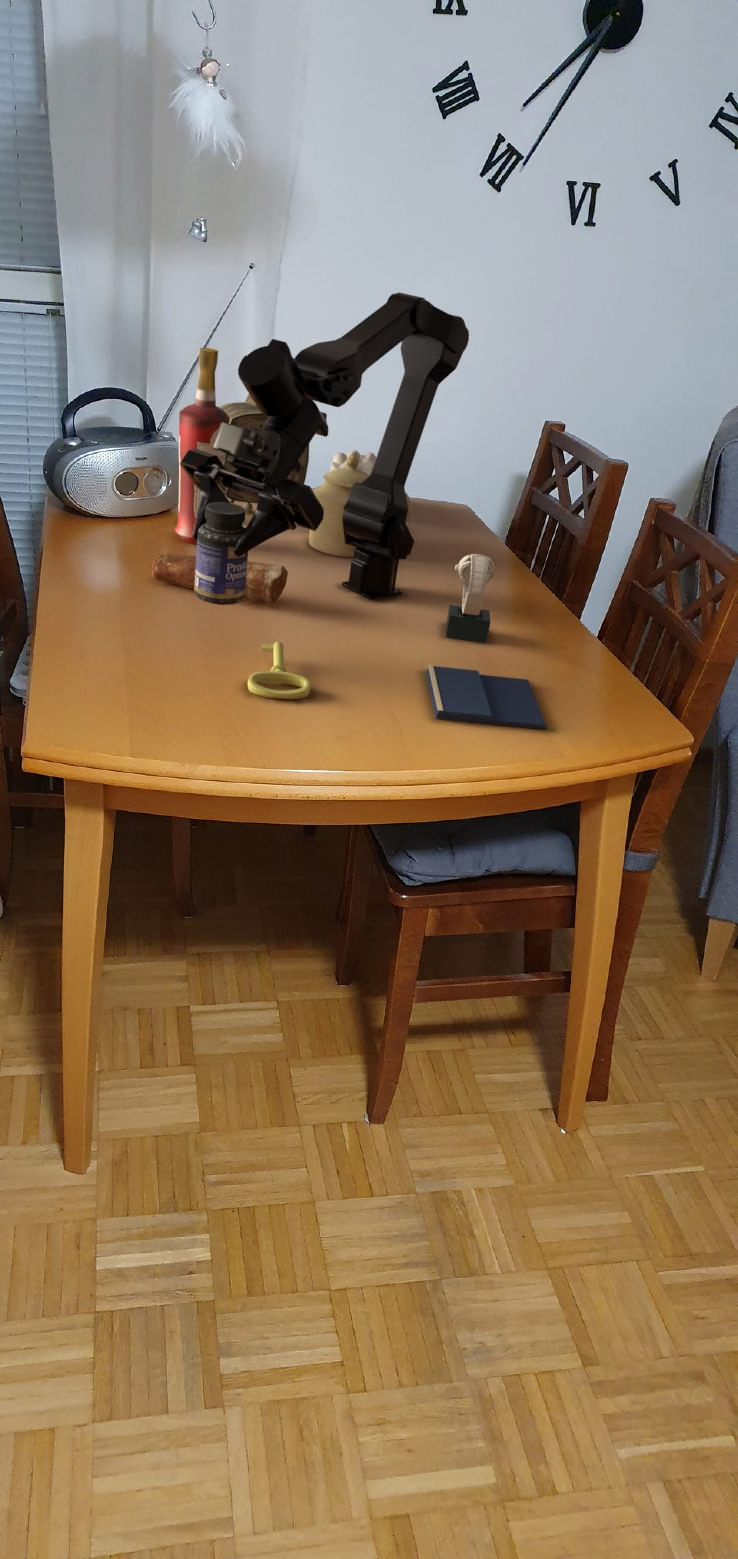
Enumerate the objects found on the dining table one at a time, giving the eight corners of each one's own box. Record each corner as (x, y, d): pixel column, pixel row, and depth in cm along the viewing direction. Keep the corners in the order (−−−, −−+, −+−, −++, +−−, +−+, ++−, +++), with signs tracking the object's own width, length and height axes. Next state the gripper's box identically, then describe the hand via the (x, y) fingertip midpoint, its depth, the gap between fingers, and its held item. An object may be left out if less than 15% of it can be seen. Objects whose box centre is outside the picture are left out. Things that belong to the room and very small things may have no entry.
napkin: (426, 673, 149) (427, 664, 149) (527, 683, 151) (529, 675, 150) (435, 718, 138) (437, 709, 137) (545, 729, 139) (547, 720, 139)
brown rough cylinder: (276, 613, 160) (279, 573, 158) (144, 584, 164) (146, 545, 161) (290, 598, 166) (294, 560, 163) (163, 571, 169) (165, 533, 166)
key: (280, 655, 148) (281, 639, 147) (315, 699, 138) (317, 682, 137) (224, 658, 145) (225, 642, 144) (256, 703, 136) (258, 686, 135)
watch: (485, 626, 167) (499, 550, 161) (486, 647, 160) (501, 569, 154) (445, 620, 167) (458, 544, 161) (445, 641, 160) (459, 563, 154)
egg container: (324, 510, 205) (330, 460, 201) (328, 490, 217) (333, 442, 212) (384, 518, 206) (391, 468, 202) (385, 498, 217) (391, 450, 213)
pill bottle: (230, 610, 141) (237, 519, 136) (184, 598, 143) (189, 508, 138) (252, 595, 147) (260, 507, 141) (208, 583, 148) (213, 496, 143)
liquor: (195, 529, 188) (207, 343, 174) (230, 542, 184) (245, 353, 171) (162, 537, 182) (171, 345, 169) (198, 550, 179) (210, 356, 165)
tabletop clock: (217, 524, 191) (229, 363, 179) (201, 507, 198) (211, 350, 186) (301, 524, 197) (318, 368, 185) (283, 507, 204) (297, 355, 192)
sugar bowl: (396, 541, 196) (410, 449, 189) (404, 563, 186) (419, 468, 179) (306, 532, 194) (316, 439, 187) (309, 554, 184) (320, 457, 177)
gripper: (194, 379, 141) (124, 485, 138) (319, 416, 132) (247, 530, 129) (234, 438, 150) (168, 538, 147) (353, 476, 142) (286, 583, 139)
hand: (214, 546), depth 140 cm, fingers closed on pill bottle, 6 cm apart
